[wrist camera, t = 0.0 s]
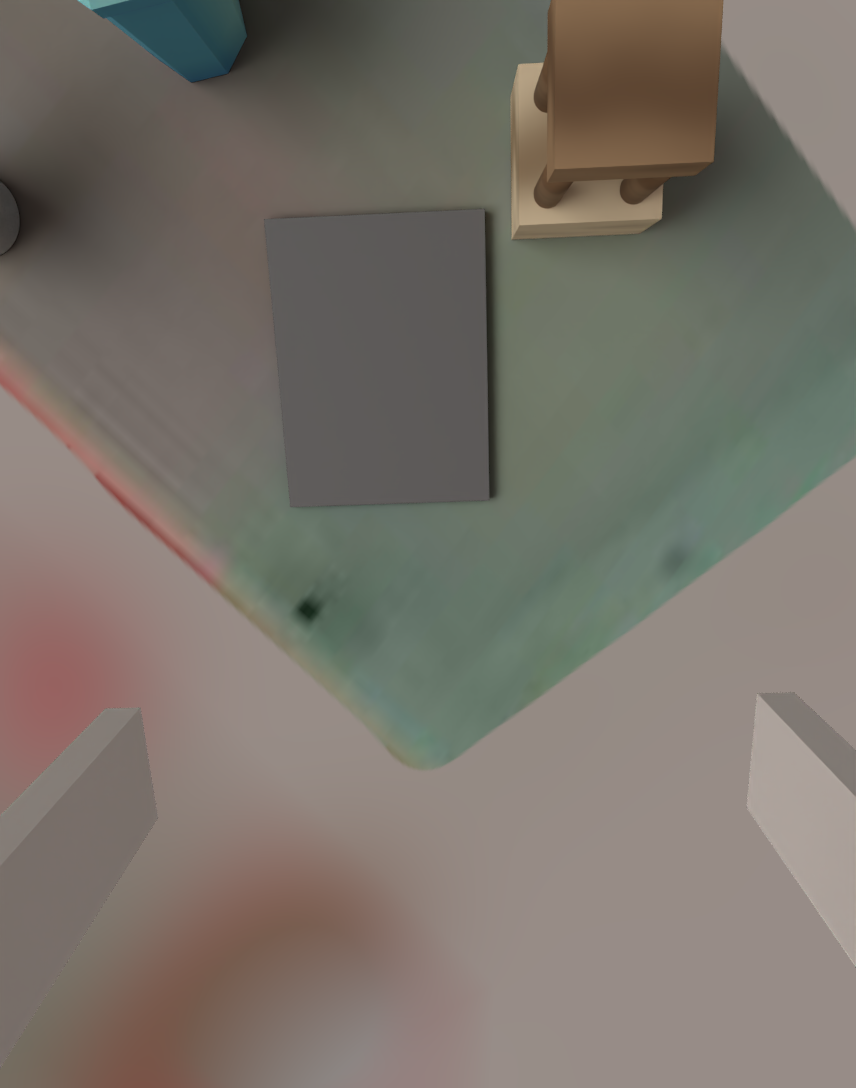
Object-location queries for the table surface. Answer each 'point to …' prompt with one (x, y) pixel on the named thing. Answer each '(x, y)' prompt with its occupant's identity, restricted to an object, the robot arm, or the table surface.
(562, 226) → the oak block
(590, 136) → the stool
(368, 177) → the table surface
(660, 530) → the table surface
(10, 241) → the grey hollow cylinder
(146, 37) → the cup
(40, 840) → the robot arm
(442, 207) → the table surface
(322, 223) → the mat
